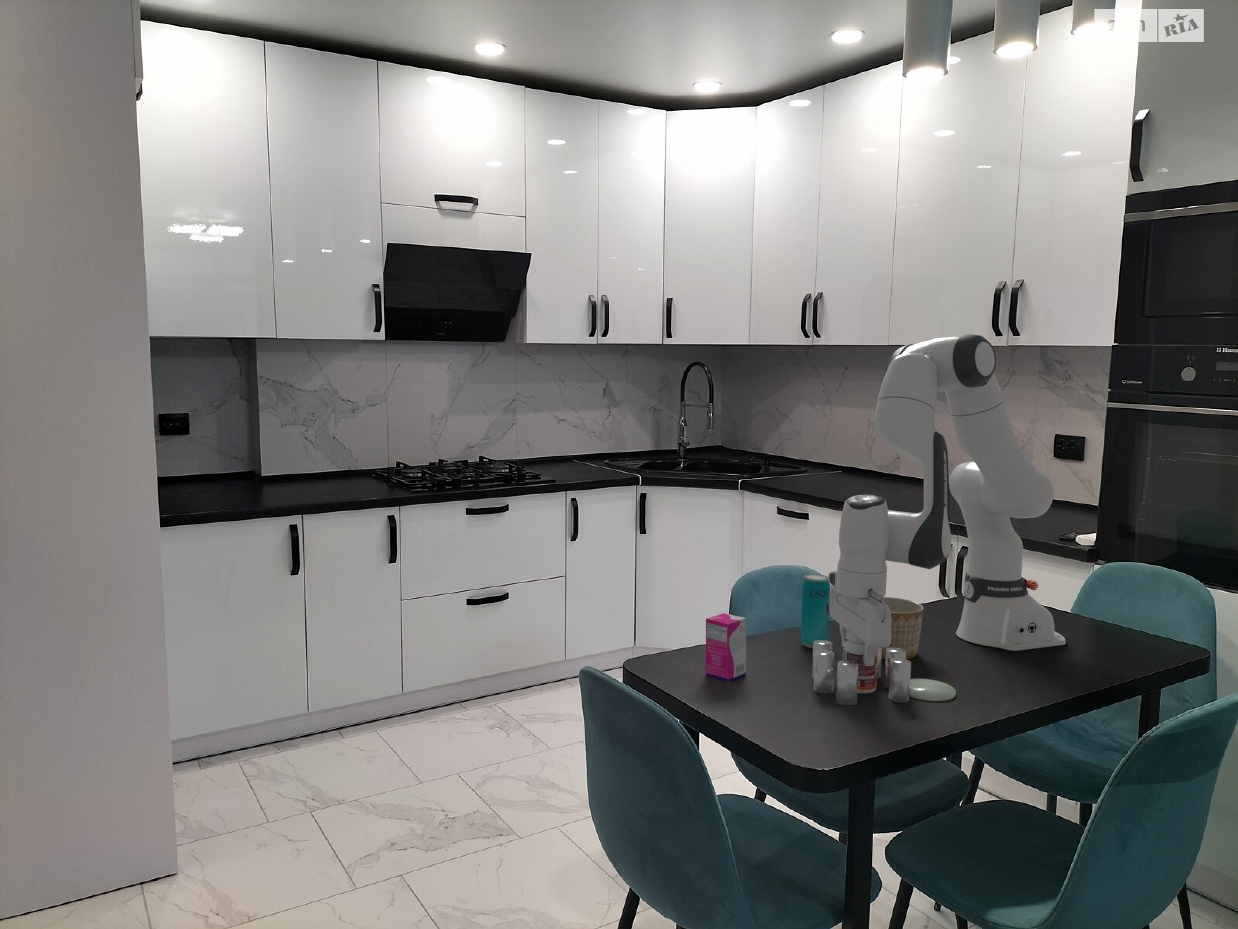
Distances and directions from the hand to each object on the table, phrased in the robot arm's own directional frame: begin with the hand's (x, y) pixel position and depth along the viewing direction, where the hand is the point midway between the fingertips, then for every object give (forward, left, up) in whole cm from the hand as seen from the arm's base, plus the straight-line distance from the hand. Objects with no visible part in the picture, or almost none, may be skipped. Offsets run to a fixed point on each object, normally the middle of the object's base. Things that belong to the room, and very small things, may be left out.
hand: (857, 656), depth 168 cm
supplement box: (+22, -10, -6) cm, 25 cm away
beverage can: (-2, -26, -6) cm, 27 cm away
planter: (-16, -19, -6) cm, 25 cm away
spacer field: (-1, 0, -6) cm, 6 cm away
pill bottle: (-1, 0, -6) cm, 6 cm away
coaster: (-13, +3, -6) cm, 14 cm away
